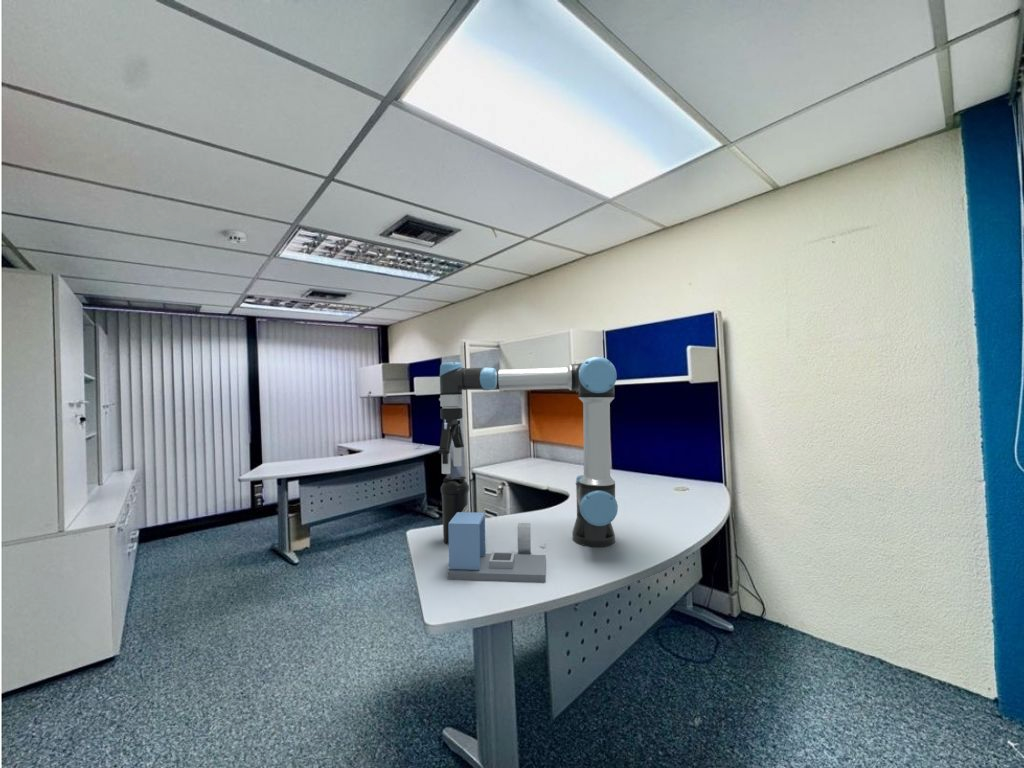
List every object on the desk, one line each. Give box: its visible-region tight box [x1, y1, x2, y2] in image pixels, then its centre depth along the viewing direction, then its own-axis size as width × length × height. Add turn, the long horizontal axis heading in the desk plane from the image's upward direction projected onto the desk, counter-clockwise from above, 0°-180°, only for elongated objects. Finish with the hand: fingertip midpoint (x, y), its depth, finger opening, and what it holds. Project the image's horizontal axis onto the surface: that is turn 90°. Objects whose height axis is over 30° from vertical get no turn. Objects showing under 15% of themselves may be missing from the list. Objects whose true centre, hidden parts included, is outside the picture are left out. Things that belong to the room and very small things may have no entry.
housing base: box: [447, 551, 547, 583], centre depth 120 cm, size 28×14×4 cm, turn 84°
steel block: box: [517, 522, 532, 555], centre depth 130 cm, size 4×4×10 cm
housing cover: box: [448, 511, 487, 570], centre depth 121 cm, size 9×11×13 cm
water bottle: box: [440, 475, 470, 546], centre depth 145 cm, size 10×10×23 cm
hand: (452, 469), depth 136 cm, fingers open, 13 cm apart
